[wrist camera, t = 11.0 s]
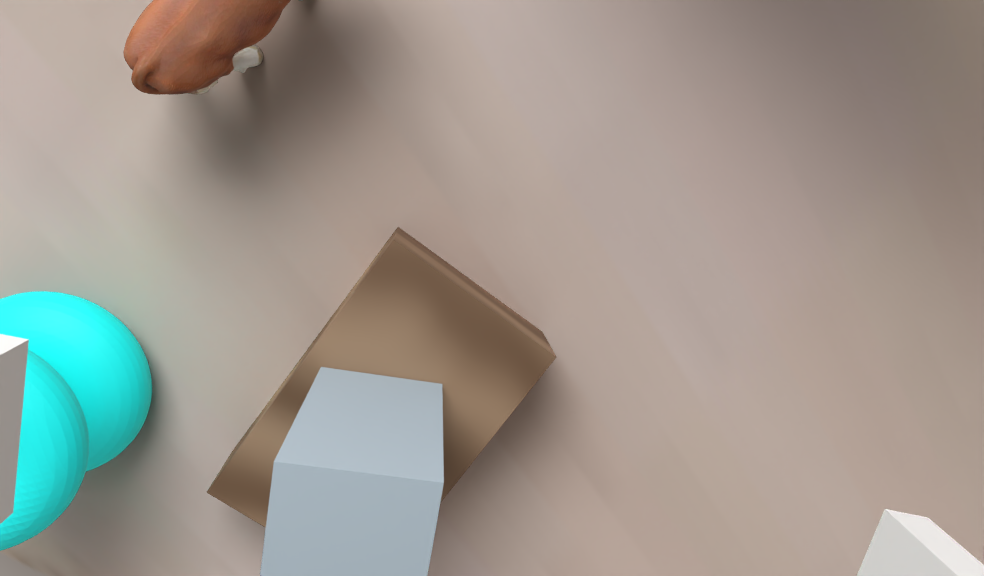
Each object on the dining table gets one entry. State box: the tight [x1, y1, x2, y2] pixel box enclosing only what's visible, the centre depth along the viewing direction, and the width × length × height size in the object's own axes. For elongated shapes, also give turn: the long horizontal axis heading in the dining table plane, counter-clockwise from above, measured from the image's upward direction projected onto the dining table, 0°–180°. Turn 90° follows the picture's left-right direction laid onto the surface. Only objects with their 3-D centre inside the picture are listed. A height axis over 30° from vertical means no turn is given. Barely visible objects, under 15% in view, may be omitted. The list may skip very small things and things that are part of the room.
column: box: [260, 367, 444, 576], centre depth 30 cm, size 6×6×10 cm
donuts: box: [0, 292, 152, 551], centre depth 33 cm, size 10×10×10 cm
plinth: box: [207, 227, 556, 527], centre depth 37 cm, size 16×10×5 cm, turn 143°
